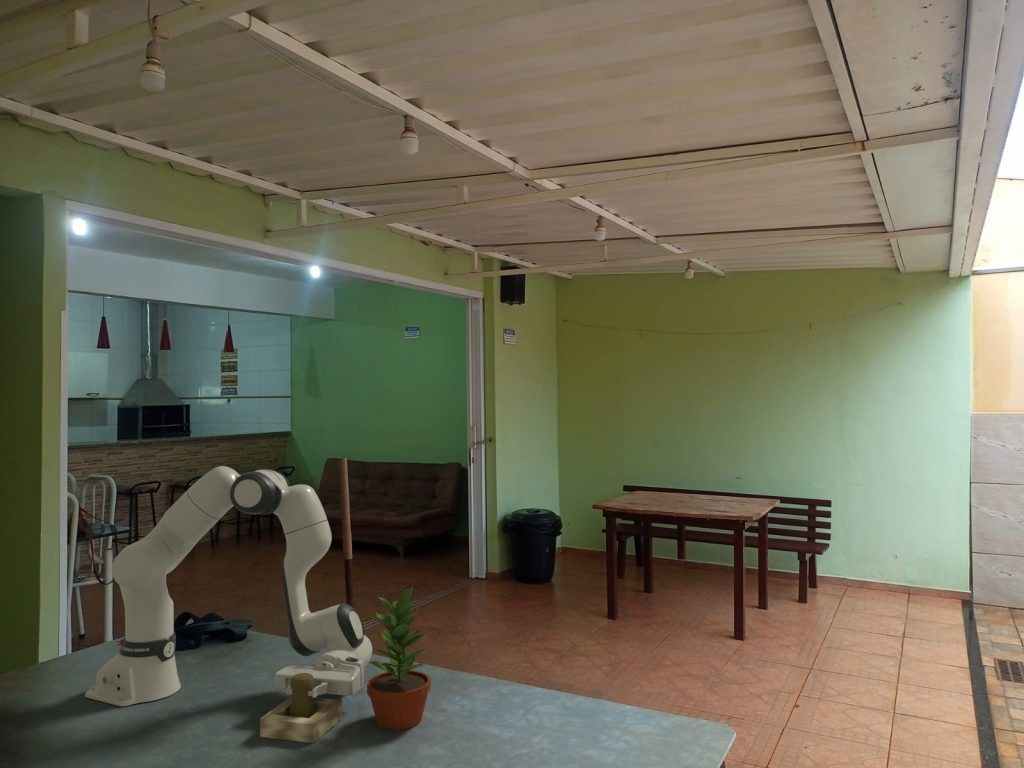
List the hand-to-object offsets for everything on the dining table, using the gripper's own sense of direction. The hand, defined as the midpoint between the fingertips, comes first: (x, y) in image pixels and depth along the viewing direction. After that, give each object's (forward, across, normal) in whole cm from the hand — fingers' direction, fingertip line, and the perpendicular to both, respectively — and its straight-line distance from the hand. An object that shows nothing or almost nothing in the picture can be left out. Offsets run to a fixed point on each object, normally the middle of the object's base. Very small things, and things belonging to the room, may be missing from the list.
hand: (300, 693), depth 165 cm
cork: (-1, 0, +8) cm, 8 cm away
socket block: (-1, 0, +8) cm, 8 cm away
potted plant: (-9, +20, +8) cm, 23 cm away
